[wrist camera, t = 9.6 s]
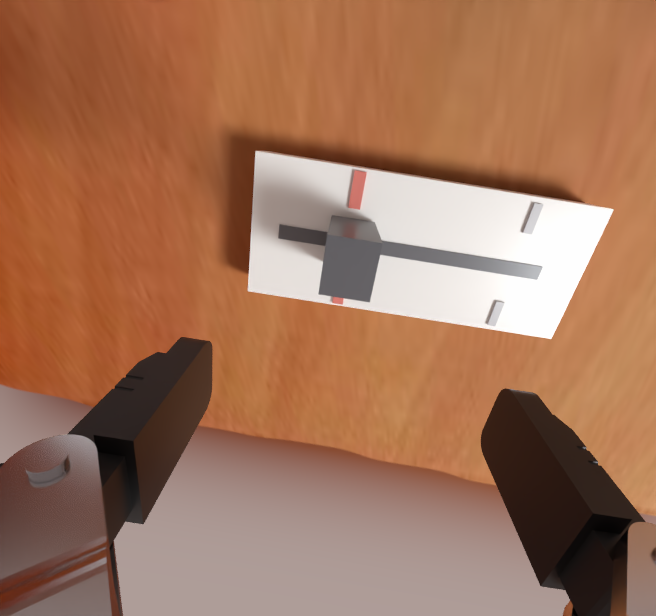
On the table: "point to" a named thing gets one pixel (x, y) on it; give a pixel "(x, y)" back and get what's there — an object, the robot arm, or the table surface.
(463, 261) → the panel
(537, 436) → the robot arm
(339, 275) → the fader tab
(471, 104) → the table surface
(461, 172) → the table surface
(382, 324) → the table surface
